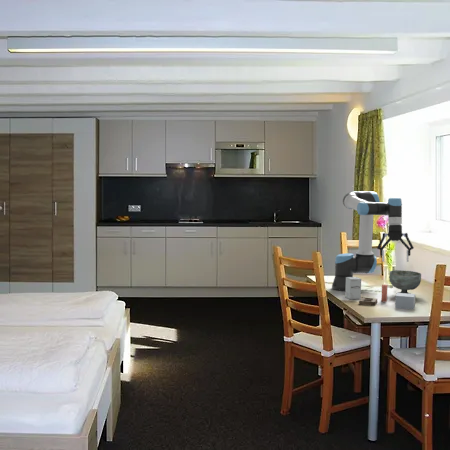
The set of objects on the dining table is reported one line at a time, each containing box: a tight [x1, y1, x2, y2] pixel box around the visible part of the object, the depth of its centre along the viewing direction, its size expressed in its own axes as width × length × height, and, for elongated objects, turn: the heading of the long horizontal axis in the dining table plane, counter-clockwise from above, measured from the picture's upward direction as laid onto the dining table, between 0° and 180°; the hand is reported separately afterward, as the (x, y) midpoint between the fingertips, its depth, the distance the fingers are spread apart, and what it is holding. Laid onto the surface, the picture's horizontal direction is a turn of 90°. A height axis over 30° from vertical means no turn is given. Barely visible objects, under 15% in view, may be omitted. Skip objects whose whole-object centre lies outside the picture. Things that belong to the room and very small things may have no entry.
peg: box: [381, 284, 388, 303], centre depth 376 cm, size 3×3×10 cm
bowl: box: [388, 269, 422, 295], centre depth 393 cm, size 20×19×15 cm
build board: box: [358, 296, 378, 307], centre depth 370 cm, size 11×9×2 cm
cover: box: [394, 292, 416, 310], centre depth 361 cm, size 10×10×7 cm
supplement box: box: [344, 276, 362, 300], centre depth 385 cm, size 7×7×13 cm
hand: (395, 261), depth 362 cm, fingers open, 13 cm apart
